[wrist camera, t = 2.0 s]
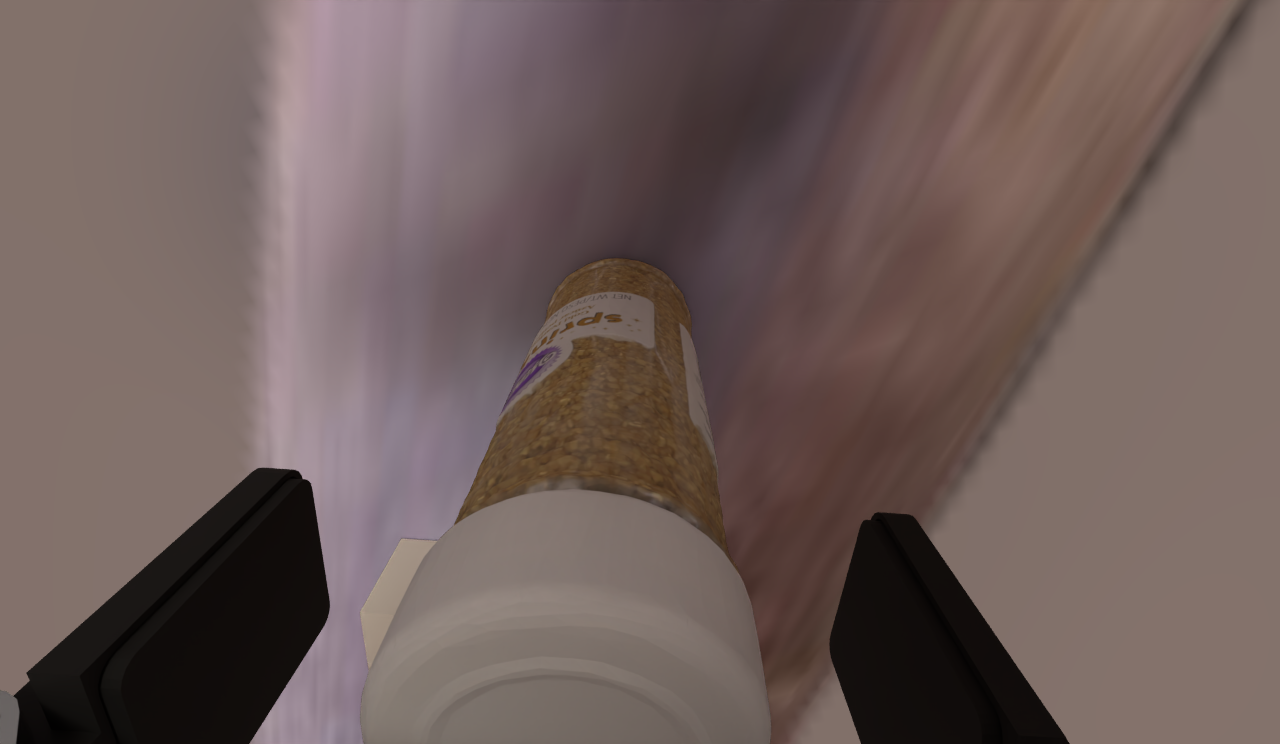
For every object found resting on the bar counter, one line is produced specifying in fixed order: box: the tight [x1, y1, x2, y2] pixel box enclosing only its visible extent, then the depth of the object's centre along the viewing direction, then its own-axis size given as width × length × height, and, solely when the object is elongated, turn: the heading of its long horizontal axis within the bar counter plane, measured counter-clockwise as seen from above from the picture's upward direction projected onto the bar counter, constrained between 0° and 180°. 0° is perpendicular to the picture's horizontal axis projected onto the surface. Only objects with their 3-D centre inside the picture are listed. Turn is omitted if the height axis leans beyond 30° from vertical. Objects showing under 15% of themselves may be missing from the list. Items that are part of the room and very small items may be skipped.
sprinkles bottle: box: [360, 258, 771, 744], centre depth 12 cm, size 5×5×13 cm
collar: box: [360, 538, 437, 670], centre depth 23 cm, size 12×12×4 cm
